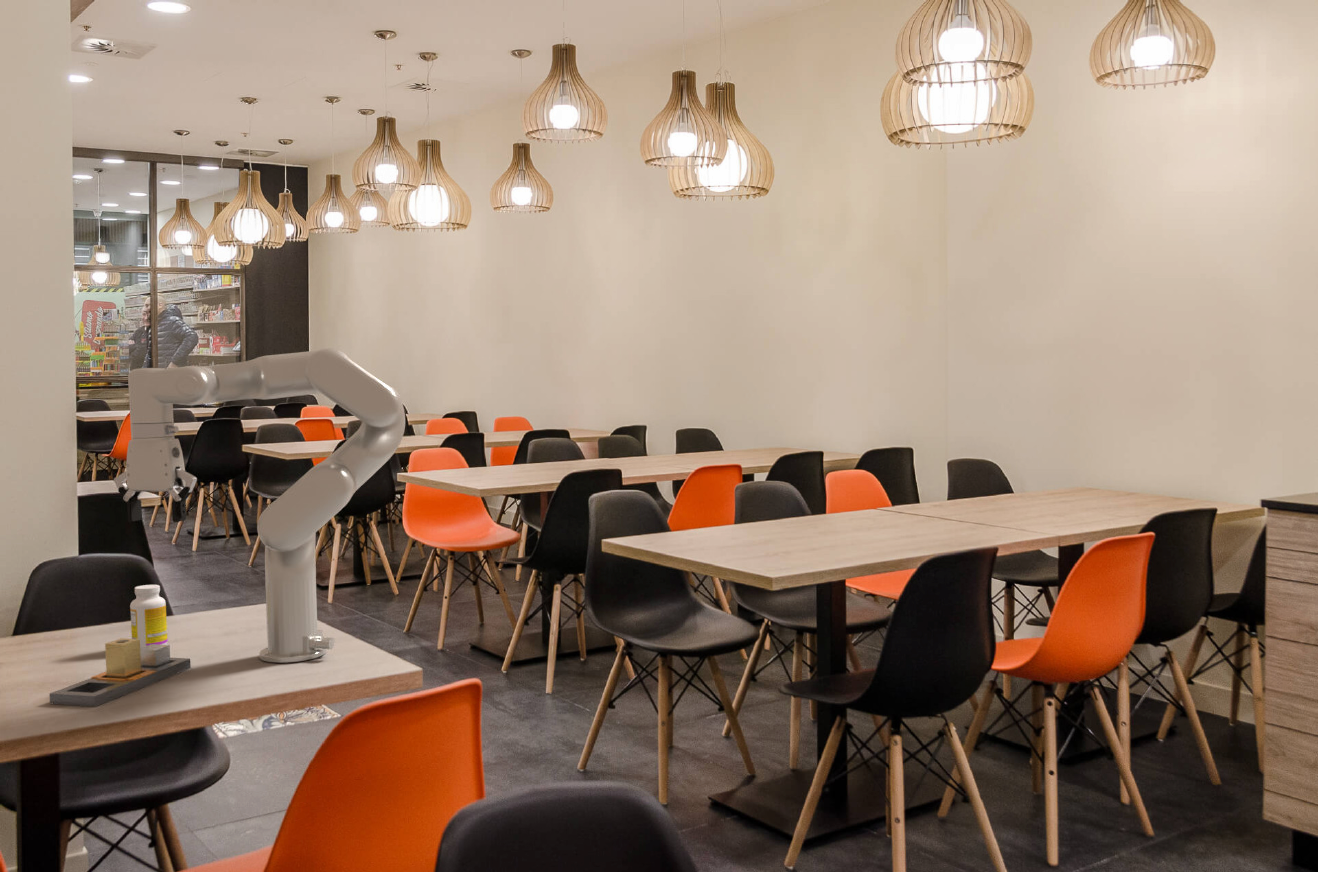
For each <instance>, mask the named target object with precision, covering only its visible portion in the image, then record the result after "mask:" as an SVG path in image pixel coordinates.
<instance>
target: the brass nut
mask: <svg viewBox="0 0 1318 872" xmlns="http://www.w3.org/2000/svg"><path fill="white" fill-rule="evenodd" d="M104 645H105V647H104V650H105V669H106V670H105V672H106V674H107V678H118V679H127V678H130V677H133V676H135V675H138V674H140V673H141V654H140V639H132V638H123V637H122V638H121V637H120V638H119V639H116V640H112V641H110V642H106V643H104Z"/></svg>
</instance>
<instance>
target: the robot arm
mask: <svg viewBox="0 0 1318 872" xmlns="http://www.w3.org/2000/svg"><path fill="white" fill-rule="evenodd" d="M127 376H128V377H127V380H128V381H127V382H128V400H129V420H130V435H131V436H130V438H131V440H129V441H128V444H127V451H126V465H125V466H126V467H125V469H126V470H125V471H124V472H122V473H120V474H119V475H117V476H116V477H114V478H113V482H114V484H115V486H116V488H117V491H118V493H119V494H120V495H121V496H122V497H123V498H122V499H123V501H125V502H126V510H127V511H126V512H127V513H126V514H127V521H128V523H133V522H138V521H141V520H142V519H143V510H142V508H143V507H142V501H141V499H139V498H140V496H141V494H142V493H143V492H145V493H146V492H147V493H149V492H160V493H161V492H168V494H169V495H170V496H171V497H172V499H173V500H174V501H172V502H171V517H172V522H173V523H180V522H184V521H186V519H187V502H186V501H187V500H189V498H190V495H191V494H192V493H193V492H194V490H195V489H194V488H195V485H196V483H197V481H198V478H197V477H196V476H195V475H193V474H192V473H190V472H187V471H186V469H185V467H186V466H185V462H184V461H185V460H184V455H183V450H182V447H181V443H180V440H179V438H175V434H178V432H179V426H176V425H175V422H174V405H181V406H182V405H184V406H197V405H206V404H212V403H214V404H215V403H223V402H231V401H240V400H252V399H253V400H254V399H256V400H273V399H274V400H275V399H281V398H290V397H299V396H309V395H310V396H311V395H317V394H318V395H319V394H321V395H323V396H325V397H326V398H328V399H329V400H330V401H332V402H333V403H335V404H336V405H338V406H339V407H340V408H342V409H343V410H345V411H347V412H348V413H349V414H350V415H352V416H354V417H355V418H357V419H358V420H359V421H360V422H361V424H360V426H359V428H358V429H357V431H355V432H354V434H353V435H351V436H350V437H349V438H348V439H347V440H346V441H345V442H343V444H341V445H340V447H338V448H337V449H336V450H335V451H334V452H332V454H330V455H329V456H328V457H326V458H325V459H323V461H321V462H319V463H317V464H315V465H314V466H313V467H311V468H310V469H309V470H308V471H307V472H306V473H305V474H304V475H302V476H300V478H299V479H298V480H297V481H295V483H293V485H292V484H291V485H292V486H290V487H289V488H288V489H287V490H286V491H284V492H283V493H282V494H281V495H280V496H279V497H277V498H276V499H275V500H273V502H271V503H270V504H269V505H268V506H267V507H266V508H265V509H264V510H263V511H262V512H261V514H259V515H260V516H259V518H258V519H257V520H258V521H257V524H256V530H257V534H258V538H259V540H260V541H261V542H262V544H263V545H264V572H265V573H264V575H265V578H264V579H265V581H264V582H265V583H264V584H265V601H266V602H265V605H266V607H265V609H266V610H265V611H266V632H267V633H266V635H267V640H266V641H267V647H265V648H263V649H261V650H260V651H259V658H260V660H261V661H264V662H268V663H297V662H304V661H309V660H313V659H317V658H320V657H321V656H324V655H326V653H327V650H333V648H335V647H334V646H335V638H334V637H325V636H323V635H324V634H323V629H321V630H320V629H318V607H317V606H318V605H317V603H318V602H317V578H316V577H317V568H316V567H317V566H316V565H317V564H316V562H317V561H316V559H317V558H316V536H317V535H316V533H317V532H318V531H319V530H320V529H322V528H323V526H325V525H326V524H327V523H328V522H330V520H332V519H333V518H334V516H336V515H337V514H339V512H340V511H342V509H343V508H345V507H346V506H347V505H348V503H349V502H350V501H351V499H352V497H353V496H354V494H355V493H356V491H358V490H359V489H360V488H361V486H363V485H364V484H365V483H366V482H367V481H368V480H369V479H370V478H371V477H373V476H374V475H375V474H376V473H377V472H378V471H379V470H380V469H381V468H382V467H383V466H384V465H385V464H386V463H387V462H388V461H389V460H390V459H391V457H393V455H394V454H395V453H396V451H397V449H399V446H400V444H401V442H402V440H403V437H404V434H405V428H406V414H405V408H404V404H403V401H402V397H401V395H400V394H399V391H398V390H396V389H395V388H394V387H393V386H391V385H389V384H387V383H384V382H383V381H382V380H381V379H379V378H377V377H376V376H374V375H373V374H371V372H368V371H367V370H365V369H364V368H363V367H361V366H360V365H358V364H357V363H356V362H355V361H353V360H351V359H350V358H349V356H348V355H347V354H346V353H345V352H343V351H342V350H338V349H335V348H331V347H330V348H326V347H325V348H320V349H318V350H311V351H300V352H291V353H289V352H288V353H281V354H280V353H279V354H271V355H270V354H269V355H263V356H258V357H256V358H254V359H250V360H245V361H239V362H232V363H222V364H215V365H212V364H211V365H204V366H203V365H201V366H200V365H199V366H198V365H187V366H186V365H185V366H179V367H178V366H177V367H173V368H164V367H145V368H141V367H140V368H134V369H131V370H130V372H129V373H128V375H127Z"/></svg>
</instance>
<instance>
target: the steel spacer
mask: <svg viewBox="0 0 1318 872" xmlns="http://www.w3.org/2000/svg"><path fill="white" fill-rule="evenodd" d="M140 654H141V667H144V668H159V667H161V666H164V665H166V664H169V663H170V658H171V647H170V645H169V644H167V645H157V644H151V645H148V646H145V647H142V648H140Z"/></svg>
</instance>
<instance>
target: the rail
mask: <svg viewBox="0 0 1318 872" xmlns="http://www.w3.org/2000/svg"><path fill="white" fill-rule="evenodd" d="M191 666H192V665H191V658H188V657H187V658H186V657H185V658H184V657H170V663H169V664H166V665H164V666H161V667H159V668H144V667H141V673H140V674H138V675H135V676H133V677H130V678H127V679H118V678H107V674H106V671H104V672H100V673H99V674H95V675H93V676H91V677H90V678H88V679H85V680H82V681H79V682H77V683H74V684H71V685H69V686H67V687H63V688H60V689H58V690H55V691H52V692H50V693H49V704H50V703H54V704H53V705H60V704H63V705H64V706H75V705H80V706H79V707H91V708H92V707H93V708H95V707H97V705H98V706H100V705H103V704H105V703H108V702H110V701H113V700H116V699H118V698H120V697H122V696H125V695H127V694H130V693H132V692H135V691H137V690H139V689H143V688H145V687H147V686H150V685H152V684H154V683H157V682H160V681H162V680H165V679H167V678H168V677H171V676H174V675H177V674H179V673H182V672H184V671H187V670H188V669H189V670H190V669H191V668H192V667H191Z"/></svg>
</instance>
